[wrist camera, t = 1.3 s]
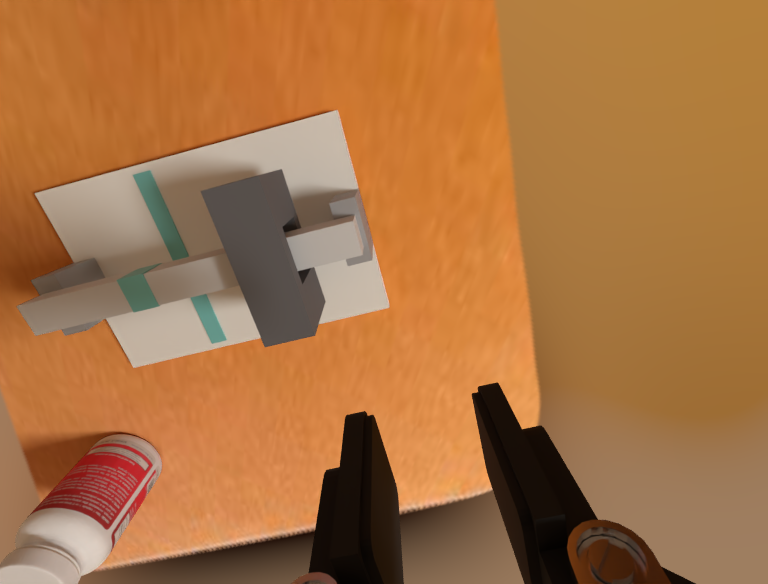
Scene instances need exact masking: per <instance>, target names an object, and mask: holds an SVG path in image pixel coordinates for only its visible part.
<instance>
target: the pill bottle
mask: <svg viewBox="0 0 768 584" xmlns="http://www.w3.org/2000/svg"><path fill="white" fill-rule="evenodd" d="M161 470H162V461H161V458H160V455H159V453H158V452H157V450H156V449H155V448H154V447H153V446H152V445H151V444H150V443H148V442H147V441H145V440H143V439H141V438H139V437H136V436H132V435H126V434H116V435H110V436H107V437H105V438H103V439H101V440H99V441H98V442H97V443H96V444H95V445H94V446H93V447H92V448H91V449H90V450H89V451H88V452H87V453H86V454H85V455H84V457H83V458H82V459H81V460H80V461H79V462H78V463H77V464H76V465H75V466H74V467H73V468H72V470H71V471H70V472H69V473H68V474H67V475H66V476H65V477H64V478H63V479H62V480H61V482H60V483H59V484H58V485H57V486H56V487H55V488H54V489H53V490H52V491H51V492H50V493H49V495H48V496H47V497H46V498H45V499H44V500H43V501H42V502H41V503H40V504H39V505H38V507H37V508H36V509H35V510H34V511H33V512H32V513H31V514H30V515H29V516H28V517H27V519H26V520H25V521H24V522H23V523H22V525H21V526H20V528H19V530H18V532H17V535H16V542H15V543H16V549H15V550H14V551H13V552H11V553H10V554H8V555H7V556H6V557H5V559H4V560H3V561H2V562H1V564H0V584H78V582H79V580H80V577H81V576H82V575H85V574H88V573H90V572H92V571H93V570H95V569H96V568H98V567H99V566H100V565H101V564H102V563H103V562H104V561H105V559H106V558H107V557H108V555H109V554H110V552H111V551H112V549H113V548H114V546H115V545H116V543H117V541H118V540H119V538H120V537H121V535H122V533H123V532H124V530H125V529H126V527H127V526H128V524H129V523H130V521H131V520H132V518H133V516H134V515H135V513H136V512H137V510H138V509H139V507H140V505H141V504H142V502H143V501H144V499H145V498H146V496H147V494H148V493H149V491H150V490H151V488H152V487H153V485H154V484H155V482H156V480H157V479H158V477H159V475H160V473H161Z"/></svg>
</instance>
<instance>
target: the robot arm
mask: <svg viewBox="0 0 768 584" xmlns="http://www.w3.org/2000/svg"><path fill="white" fill-rule="evenodd" d="M472 399H473V404H474V409H475V414H476V419H477V424H478V429H479V434H480V439H481V444H482V449H483V454H484V459H485V465H486V469H487V473H488V476H489V479H490V482H491V485H492V488H493V491H494V494H495V497H496V500H497V503H498V506H499V509H500V512H501V515H502V518H503V521H504V524H505V527H506V530H507V533H508V536H509V539H510V542H511V545H512V548H513V550H514V553H515V557H516V559H517V563H518V566H519V569H520V571H521V575H522V577H523V580H524V583H525V584H695V583H693V582H691V581H689V580H687V579H685V578H683V577H681V576H679V575H677V574H675V573H673V572H671V571H669V570H667V569H665V568H663V567H661V566H660V564H659V562H658V560H657V558H656V557H655V555H654V553H653V552H652V551H651V549H650V548H649V547H648V545H647V544H646V543H645V541H644V540H643V539H642V538H640V537H639V536H638V535H637V534H636V533H634V532H633V531H632V530H630V529H628V528H626V527H624V526H622V525H621V524H619V523H615V522H611V521H608V520H598V519H597V517H596V516H595V514H594V512H593V510H592V509H591V507H590V505H589V503H588V502H587V500H586V498H585V497H584V495H583V493H582V492H581V490H580V488H579V487H578V485H577V483H576V481H575V480H574V478H573V476H572V475H571V473H570V471H569V470H568V468H567V466H566V464H565V463H564V461H563V459H562V458H561V456H560V454H559V453H558V451H557V449H556V447H555V446H554V444H553V442H552V441H551V439H550V437H549V435H548V434H547V432H546V431H545V429H544V428H543V427H542V426H536V427H532V428H527V429H521V427H520V425H519V423H518V421H517V419H516V417H515V415H514V413H513V411H512V409H511V407H510V405H509V403H508V401H507V399H506V397H505V395H504V393H503V391H502V389H501V387H500V385H499V384H498V383H493V384H488V385H483V386H479V387H478V392H477V393H472ZM291 584H404V582H403V566H402V551H401V534H400V518H399V502H398V492H397V487H396V483H395V479H394V476H393V473H392V470H391V467H390V464H389V461H388V457H387V454H386V451H385V448H384V445H383V442H382V439H381V435H380V432H379V429H378V426H377V423H376V420H375V417H374V415H370V416H367V413H366V412H365V411H364V412H359V413H354V414H350V415H346V417H345V424H344V433H343V442H342V451H341V460H340V467H339V468H334V469H329V470H326V472H325V474H324V478H323V484H322V491H321V497H320V504H319V510H318V516H317V523H316V529H315V536H314V542H313V548H312V556H311V561H310V568H309V573H308V574H306V575H303V576H301V577H299V578H298V579H296V580H295V581H294V582H292V583H291Z"/></svg>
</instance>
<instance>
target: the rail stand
mask: <svg viewBox="0 0 768 584" xmlns="http://www.w3.org/2000/svg"><path fill="white" fill-rule="evenodd" d="M280 169H282V171H283V174H284V177H285V180H286V183H287V186H288V189H289V192H290V195H291V198H292V201H293V204H294V207H295V210H296V213H297V216H298V219H299V222H300V225H301V228H300V229H296V230H292V231H288V232H284V233H285V236H286V239H287V242H288V245H289V248H290V250H291V253H292V256H293V259H294V262H295V265H296V268H297V271H300V270H304V269H309V268H313V267H314V268H315V271H316V274H317V277H318V280H319V283H320V286H321V289H322V292H323V295H324V298H325V301H326V302H325V305H324V308H323V312H322V315H321V318H320V321H319V324H322V323H326V322H330V321H335V320H339V319H343V318H347V317H352V316H356V315H360V314H364V313H369V312H373V311H377V310H381V309H386V308H389V301H388V297H387V294H386V290H385V286H384V282H383V278H382V275H381V271H380V267H379V263H378V260H377V256H376V252H375V248H374V245H373V241H372V237H371V233H370V229H369V226H368V222H367V218H366V214H365V211H364V207H363V203H362V199H361V196H360V192H359V188H358V184H357V180H356V177H355V173H354V169H353V165H352V162H351V158H350V154H349V150H348V146H347V143H346V139H345V135H344V131H343V128H342V124H341V120H340V116H339V113H338V111H337V110H335V111H332V112H328V113H324V114H321V115H317V116H314V117H310V118H306V119H303V120H299V121H295V122H292V123H288V124H284V125H281V126H277V127H274V128H270V129H266V130H263V131H259V132H255V133H252V134H248V135H244V136H241V137H237V138H234V139H230V140H226V141H223V142H219V143H215V144H212V145H208V146H205V147H201V148H197V149H194V150H190V151H186V152H183V153H179V154H175V155H172V156H168V157H165V158H161V159H157V160H154V161H150V162H146V163H143V164H139V165H135V166H132V167H128V168H125V169H121V170H117V171H114V172H110V173H106V174H103V175H99V176H96V177H92V178H88V179H85V180H81V181H77V182H74V183H70V184H66V185H63V186H59V187H56V188H52V189H48V190H45V191H41V192H37V193H34V194H35V195H36V197H37V199H38V201H39V202H40V204H41V206H42V208H43V209H44V211H45V213H46V215H47V216H48V218H49V220H50V222H51V223H52V225H53V227H54V229H55V230H56V232H57V234H58V236H59V238H60V239H61V241H62V243H63V245H64V246H65V248H66V250H67V252H68V253H69V255H70V257H71V259H72V260H73V262H74V263H73V264H70V265H68V266H65V267H63V268H60V269H58V270H55V271H53V272H50V273H48V274H45V275H43V276H40V277H38V278H35V279H33V280H31V282H32V283H33V285H34V287H35V288H36V290H37V291H38V293H39V295H40V296H38V297H36V298H33V299H31V300H29V301H27V302H25V303H22V304H20V305H18V306H17V308H18V310H19V311H20V313H21V314H22V316H23V317H24V319H25V320H26V322H27V323H28V325H29V326H30V328H31V329H32V331H33V332H34V334H35V335H36V336H37V335H41V334H45V333H49V332H53V331H57V330H62V331H63V333H64V335H69V334H74V333H78V332H82V331H86V330H88V329H90V328H91V327H93V326H94V325H96V324H97V323H99V322H101V321H102V320H104V319H106V320H107V322H108V323H109V325H110V327H111V329H112V330H113V332H114V334H115V336H116V337H117V339H118V341H119V343H120V345H121V346H122V348H123V350H124V352H125V353H126V355H127V357H128V359H129V360H130V362H131V364H132V366H133V367H134V368H135V367H139V366H144V365H148V364H152V363H156V362H161V361H165V360H169V359H173V358H178V357H182V356H186V355H190V354H195V353H199V352H203V351H207V350H212V349H216V348H220V347H224V346H229V345H233V344H237V343H241V342H246V341H250V340H254V339H258V338H261V337H260V334H259V332H258V329H257V327H256V324H255V322H254V320H253V317H252V315H251V312H250V310H249V308H248V305H247V303H246V300H245V298H244V295H243V293H242V291H241V288H240V286H239V283H238V281H237V279H236V276H235V274H234V271H233V269H232V266H231V264H230V262H229V259H228V257H227V254H226V252H225V250H224V247H223V245H222V242H221V240H220V237H219V235H218V233H217V230H216V228H215V225H214V223H213V221H212V218H211V216H210V213H209V211H208V208H207V206H206V204H205V201H204V199H203V196H202V194H201V192H200V191H203V190H206V189H210V188H213V187H217V186H220V185H224V184H227V183H231V182H235V181H238V180H242V179H246V178H250V177H253V176H257V175H261V174H265V173H268V172H272V171H276V170H280Z"/></svg>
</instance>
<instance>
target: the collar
mask: <svg viewBox="0 0 768 584" xmlns="http://www.w3.org/2000/svg"><path fill="white" fill-rule="evenodd" d="M200 192H201V194H202V196H203V199H204V201H205V204H206V206H207V208H208V211H209V213H210V216H211V218H212V221H213V223H214V225H215V228H216V230H217V233H218V235H219V237H220V240H221V242H222V245H223V247H224V250H225V252H226V254H227V257H228V259H229V262H230V264H231V266H232V269H233V271H234V274H235V276H236V279H237V281H238V283H239V286H240V288H241V291H242V293H243V295H244V298H245V300H246V303H247V305H248V308H249V310H250V312H251V315H252V317H253V320H254V322H255V324H256V327H257V329H258V332H259V334H260V337H261V339H262V341H263V344H264V346H265V347H268V346H272V345H277V344H281V343H285V342H289V341H294V340H298V339H302V338H307V337H311V336H315V334H316V331H317V327H318V324H319V321H320V318H321V315H322V312H323V308H324V305H325V302H326V301H325V298H324V295H323V292H322V289H321V286H320V283H319V280H318V277H317V274H316V271H315V268H314V267H313V268H309V269H304V270H300V271H297V268H296V265H295V262H294V259H293V256H292V253H291V250H290V248H289V245H288V242H287V239H286V236H285V233H284V232H288V231H292V230H296V229H300V228H301V225H300V222H299V219H298V216H297V213H296V210H295V207H294V204H293V201H292V198H291V195H290V192H289V189H288V186H287V183H286V180H285V177H284V174H283V171H282V169H280V170H276V171H272V172H268V173H265V174H261V175H257V176H253V177H250V178H246V179H242V180H238V181H235V182H231V183H227V184H224V185H220V186H217V187H213V188H210V189H206V190H203V191H200Z"/></svg>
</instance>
